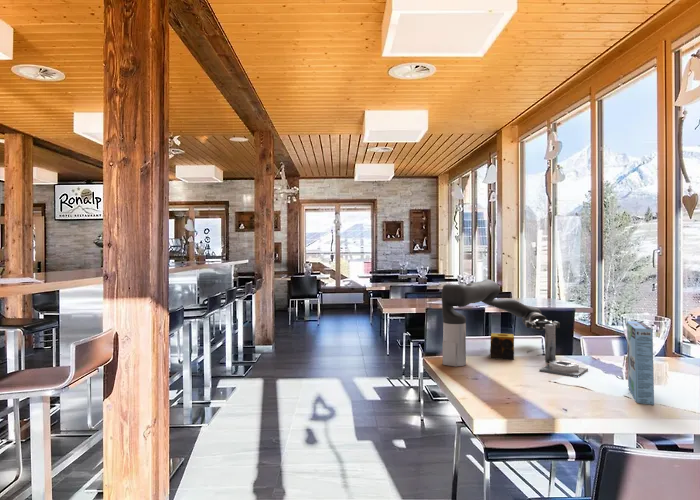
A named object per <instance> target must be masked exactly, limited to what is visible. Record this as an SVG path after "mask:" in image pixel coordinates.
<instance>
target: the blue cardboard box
mask: <svg viewBox="0 0 700 500" xmlns="http://www.w3.org/2000/svg"><path fill="white" fill-rule="evenodd" d="M653 331H654V330H653V328H650V327H649V326H648V325H646V324H645V323H643V321H635V320H634V321H633V320H631V321H630V320H629V321H626V333H627V335H626V336H627V337H626V338H627V340H626V341H627V382H628V385H627V388H628V387H629V388H628V390H629V392H630V393H631V395H632V397H633V399H634V401H635V403H637V404H642V405H643V404H644V405H653V406H654V405H655V390H654V389H655V384H654V383H655V382H654V381H655V379H654V378H655V377H654V341H653V339H654V336H653V333H654V332H653Z"/></svg>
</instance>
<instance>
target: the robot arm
mask: <svg viewBox="0 0 700 500" xmlns="http://www.w3.org/2000/svg"><path fill="white" fill-rule="evenodd" d="M500 292H501V287H500V285H499V284H498V283H497V282H496V281H494V280H492V279H483V280H482V281H478V282H476V281H475V282H470V283H466V284H459V283H458V284H454V283H453V284H452V283H451V284H450V283H449V284H448V283H447V284H444V285H443V287H442V290H441V305H442V306H441V308H442V310H441V311H442V320H443V321H442V324H443V325H442V326H443V327H442V329H443V331H442V332H443V334H442V335H443V337H442V365H443V366H449V367H455V368H456V367H463V366H466V364H467V360H466V359H467V349H466V348H467V347H466V345H467V340H466V339H467V338H466V336H467V333H466V331H467V330H466V329H467V324H466V323H467V319H466V316H465V315H463V314H461V313H459V312H458V311H456V310H455V309H454V307H457V308H459V307H460V308H464V307H467V306H469V305H470V304H478V303H480V302H481V303H483V304H485V305H488V306H491V307H493V308H497V309H500V310H503V311H505V312H507V313H510V314H512V315H514V316H515V317H517V318H522V319H521V321H522V323H523V325H525V327H526V328H531V329H534V330H536V331H539V332H541V331H545V324H553V325H555V330H557V329H560V328H561V327H560V325H561V323H560V322H559V321H556V320H554V321H552V320H548V318H547V317H546V316H545V315H543V314H542V310H540V309H539V308H538V307H536V306H533V305H532V306H531V305H526V304H524V303H522V302H520V301H518V300H516V299H512V298H507V299H502V298H501V299H496V297H497V296H498V295H499V293H500Z"/></svg>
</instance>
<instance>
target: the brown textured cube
mask: <svg viewBox="0 0 700 500" xmlns="http://www.w3.org/2000/svg"><path fill="white" fill-rule="evenodd" d="M489 349H490V350H489V353H490V354H489V357H490V359H495V360H511V361H514V360H515V335H514V333H513V334H512V333H500V332H499V333H498V332H497V333H496V332H494V333H493V332H491V333H490V348H489Z"/></svg>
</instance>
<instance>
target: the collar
mask: <svg viewBox="0 0 700 500" xmlns="http://www.w3.org/2000/svg"><path fill="white" fill-rule="evenodd" d="M538 369H539V371H538V372H542V373H549V374H555V375H561V376H567V377H573V376H577V377H576V378H579V377H580V376H582V375H583V374H585V373H586V371H587V372H588V371H589V368H587V367H580V366H579V364H578V363H576V362H574V361H567V360H555V361H549V363H548V364H547V365H545V366H543V367H541V368H538ZM584 372H585V373H584ZM581 374H582V375H581ZM578 376H579V377H578Z"/></svg>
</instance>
